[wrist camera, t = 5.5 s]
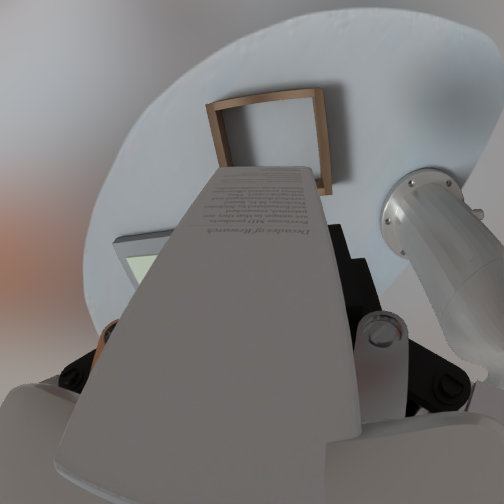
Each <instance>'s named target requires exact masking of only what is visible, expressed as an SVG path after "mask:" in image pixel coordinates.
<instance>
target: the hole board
mask: <svg viewBox="0 0 504 504" xmlns="http://www.w3.org/2000/svg"><path fill="white" fill-rule="evenodd" d="M173 231H174V230H171V231H163V232H156V233H148V234H141V235H134V236H127V237H121V238H116V239H115V241H114V242H113V243H112V245H113V247H114V249H115V251H116V254H117V256H118V258H119V260H120V262H121V264H122V266H123V268H124V270H125V272H126V273H127V275H128V277H129V279H130V281H131V283H132V285H133V287H134V288H135V290H137V288H138V286H139V285H140V283H141V282H142V280H143V278H144V277H145V275H146V273H147V272H148V270H149V268H150V267H151V265H152V263H153V262H154V260H155V259H156V257H157V256H158V254H159V252H160V251H161V249H162V248H163V246H164V245H165V243H166V242H167V240H168V239H169V237H170V236H171V234H172V233H173Z"/></svg>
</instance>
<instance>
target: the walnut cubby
mask: <svg viewBox="0 0 504 504" xmlns="http://www.w3.org/2000/svg"><path fill="white" fill-rule="evenodd" d="M305 97H312V99H313V106H314V113H315V121H316V130H317V138H318V148H319V158H320V169H321V180H315V182H316V186H317V189H318V192H319V196H323V195H332V178H331V164H330V151H329V140H328V130H327V121H326V113H325V105H324V97H323V90H322V88H309V89H297V90H287V91H278V92H270V93H263V94H256V95H250V96H244V97H238V98H233V99H228V100H223V101H218V102H213V103H210V104H206V110H207V114H208V119H209V123H210V128H211V132H212V136H213V141H214V145H215V149H216V154H217V158H218V162H219V167H220V168H221V167H233V164H232V159H231V154H230V150H229V145H228V140H227V136H226V131H225V126H224V122H223V117H222V112H221V109H226V108H231V107H236V106H242V105H248V104H254V103H261V102H268V101H276V100H284V99H294V98H305Z"/></svg>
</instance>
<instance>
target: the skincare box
mask: <svg viewBox="0 0 504 504" xmlns="http://www.w3.org/2000/svg"><path fill="white" fill-rule="evenodd" d="M361 433H362V428H361V416H360V405H359V396H358V387H357V379H356V371H355V364H354V356H353V348H352V340H351V334H350V328H349V323H348V318H347V313H346V307H345V301H344V296H343V291H342V286H341V281H340V277H339V272H338V267H337V262H336V258H335V254H334V249H333V245H332V241H331V237H330V233H329V229H328V225H327V221H326V218H325V214H324V211H323V207H322V203H321V200H320V196H319V192H318V189H317V186H316V182H315V179H314V176H313V173H312V169H311V168H309V167H305V166H292V167H280V166H276V167H266V166H251V167H221V168H218V169H217V171H216V172H215V173H214V175H213V176H212V177H211V179H210V180H209V181H208V183H207V184H206V186H205V187H204V188H203V189H202V191H201V192H200V194H199V195H198V197H197V198H196V199H195V201H194V202H193V204H192V205H191V206H190V208H189V209H188V211H187V212H186V213H185V215H184V216H183V218H182V219H181V221H180V222H179V224H178V225H177V227H176V228H175V230H174V231H173V233H172V234H171V236H170V237H169V239H168V240H167V242H166V243H165V245H164V246H163V248H162V249H161V251H160V252H159V254H158V256H157V257H156V259H155V260H154V262H153V263H152V265H151V267H150V268H149V270H148V272H147V273H146V275H145V277H144V278H143V280H142V282H141V283H140V285H139V286H138V288H137V290H136V291H135V293H134V295H133V296H132V298H131V300H130V302H129V303H128V305H127V307H126V308H125V310H124V312H123V314H122V315H121V317H120V319H119V321H118V323H117V324H116V326H115V328H114V330H113V332H112V334H111V336H110V338H109V339H108V341H107V343H106V345H105V347H104V349H103V351H102V353H101V354H100V356H99V358H98V360H97V362H96V364H95V366H94V368H93V370H92V371H91V374H90V376H89V378H88V380H87V383H86V385H85V387H84V389H83V391H82V393H81V395H80V397H79V399H78V401H77V404H76V406H75V408H74V411H73V413H72V415H71V418H70V420H69V422H68V424H67V427H66V429H65V431H64V434H63V436H62V439H61V441H60V444H59V447H58V449H57V452H56V455H55V458H54V467H55V468H56V470H57V471H58V472H59V474H60V475H62V476H63V477H65V478H66V479H68V480H69V481H71V482H73V483H74V484H76V485H78V486H80V487H82V488H83V489H85V490H87V491H89V492H91V493H93V494H95V495H97V496H99V497H101V498H104V499H106V500H108V501H110V502H112V503H115V504H325V482H324V469H325V455H326V443H330V442H336V441H341V440H346V439H351V438H355V437H357V436H359V435H360V434H361Z"/></svg>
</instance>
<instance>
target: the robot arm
mask: <svg viewBox="0 0 504 504" xmlns="http://www.w3.org/2000/svg"><path fill="white" fill-rule="evenodd" d="M409 181H410V182H409ZM483 218H484V212H483V210H481V209H474V210H472V209H471V208H470V207H469V206H468V205H467V204H466V203H465V202H464V198H463V194H462V191H461V189H460V187H459V185H458V184H457V183H456V182H455V181H454V179H453V178H451V177H450V176H449V175H447V174H446V173H444V172H442V171H440V170H436V169H421V170H416V171H414V172H412V173H409V174H407V175H406V176H405V177H403V178H402V179H400V180H399V181H398V182H397V183H396V184H395V185H394V186H393V188H392V189H391V190H390V192H389V193H388V195H387V197H386V199H385V201H384V203H383V206H382V210H381V215H380V229H381V232H382V236H383V238H384V240H385V242H386V244H387V246H388V247H389V248H390V250H391V251H392V252H394V253H395V254H396V255H398V256H399V257H401V258H405V259H409V261H410V263H411V265H412V267H413V268H414V270H415V272H416V274H417V276H418V278H419V280H420V282H421V284H422V286H423V288H424V290H425V292H426V294H427V297H428V299H429V301H430V303H431V305H432V308H433V310H434V312H435V314H436V317H437V319H438V321H439V324H440V326H441V328H442V331H443V334H444V336H445V339H446V341H447V343H448V345H449V347H450V348H451V350H452V351H453V352H454V353H455V354H456V355H457V356H458V357H459V358H461V359H462V360H465V361H467V362H469V363H472V364H476V365H479V366H482V367H484V368H485V369H486V370H487V371H488V377H487V378H486V380H485V381H484V382H480V381H478V380H477V381H476V382H475V383H473V382H471V381H470V379H469V377H468V375H467V374H466V372H465V371H463V370H462V369H461V368H459V367H458V366H456V365H454V364H453V363H451V362H449V361H447V360H446V359H444V358H442V357H440V356H438V355H437V354H435V353H433V352H431V351H430V350H428V349H426V348H424V347H423V346H421V345H419V344H417V343H416V342H414V341H412V340H410V339H409V338H408V329H407V325H406V323H405V322H404V320H403V319H402V318H400V317H399V316H398V315H396V314H394V313H392V312H388V311H382V309H381V306H380V302H379V299H378V295H377V292H376V289H375V286H374V283H373V280H372V277H371V274H370V271H369V268H368V265H367V262H366V260H365V258H357V259H351V257H350V254H349V250H348V247H347V244H346V240H345V237H344V234H343V231H342V228H341V225H340V224H333V225H328V229H329V233H330V237H331V241H332V245H333V249H334V254H335V258H336V262H337V267H338V272H339V277H340V281H341V286H342V291H343V296H344V301H345V307H346V313H347V318H348V323H349V328H350V334H351V340H352V348H353V356H354V364H355V371H356V379H357V387H358V396H359V405H360V416H361V428H362V433H361V434H360V435H359V436H357V437H355V438H351V439H346V440H341V441H336V442H330V443H326V455H325V469H324V482H325V504H504V246H503V245H502V244H501V242H500V241H499V240H498V239H497V238H496V237H495V236H494V235H493V233H492V232H491V231H490V230H489V229H488V228H487V227H486V226H485V225H484V224H483V223H482V222H481V221H480V220H482V219H483ZM118 321H119V319H117V320H115V321H113V322H111V323H110V324H108V325H107V326H106V327H105V329H104V330H103V331H102V334H101V336H100V339H99V342H98V346H97V348H96V349H94V350H93V351H91V352H89V353H88V354H86V355H84V356H83V357H81V358H79V359H78V360H76V361H74V362H73V363H71V364H69V365H68V366H67V367H65V368H64V370H63V371H62V372H61V374H60V375H56V376H54V377H51V378H49V379H46V380H44V381H42V382H39V383H30V384H23V385H20V386H17V387H15V388H13V389H12V390H11V391H10V392H9V393H8V395H7V396H6V398H5V400H4V402H3V403H2V405H1V407H0V504H115V503H112V502H110V501H108V500H106V499H104V498H101V497H99V496H97V495H95V494H93V493H91V492H89V491H87V490H85V489H83V488H82V487H80V486H78V485H76V484H74V483H73V482H71V481H69V480H68V479H66V478H65V477H63V476H62V475H60V474H59V472H58V471H57V470H56V468H55V467H54V458H55V455H56V452H57V449H58V447H59V444H60V441H61V439H62V436H63V434H64V431H65V429H66V427H67V424H68V422H69V420H70V418H71V415H72V413H73V411H74V408H75V406H76V404H77V401H78V399H79V397H80V395H81V393H82V391H83V389H84V387H85V385H86V383H87V380H88V378H89V376H90V374H91V371H92V370H93V368H94V366H95V364H96V362H97V360H98V358H99V356H100V354H101V353H102V351H103V349H104V347H105V345H106V343H107V341H108V339H109V338H110V336H111V334H112V332H113V330H114V328H115V326H116V324H117V323H118Z"/></svg>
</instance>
